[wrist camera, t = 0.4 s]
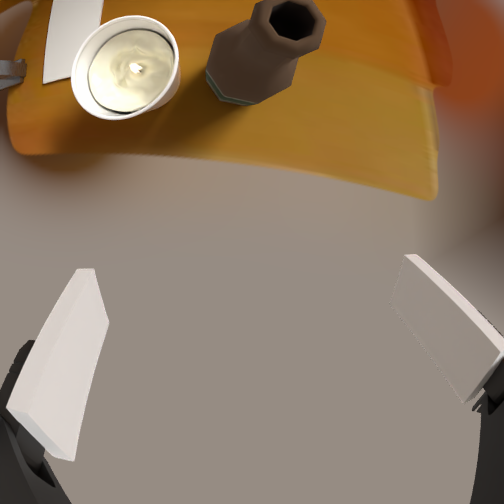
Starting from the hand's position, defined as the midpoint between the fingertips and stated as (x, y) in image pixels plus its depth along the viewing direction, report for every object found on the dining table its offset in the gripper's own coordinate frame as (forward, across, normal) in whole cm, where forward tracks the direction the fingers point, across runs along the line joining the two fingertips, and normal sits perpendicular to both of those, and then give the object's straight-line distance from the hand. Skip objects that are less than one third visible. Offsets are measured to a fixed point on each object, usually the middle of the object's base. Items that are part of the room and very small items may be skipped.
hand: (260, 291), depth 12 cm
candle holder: (+28, -9, +11) cm, 31 cm away
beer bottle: (+28, +2, +11) cm, 30 cm away
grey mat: (+28, -20, +26) cm, 43 cm away
